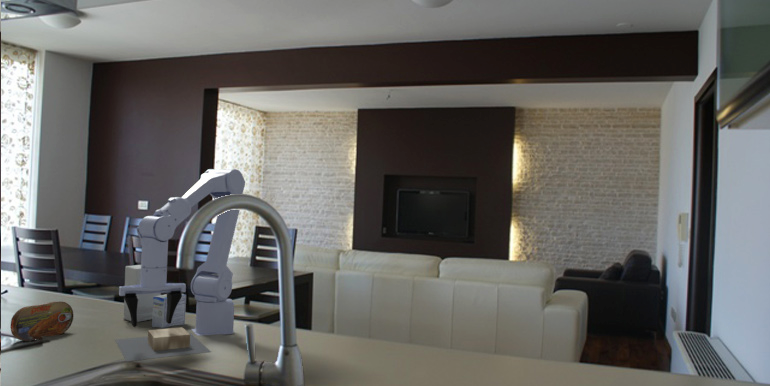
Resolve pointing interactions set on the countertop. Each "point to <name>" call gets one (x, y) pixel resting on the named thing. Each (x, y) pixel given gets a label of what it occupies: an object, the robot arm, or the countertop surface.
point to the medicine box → (161, 312)
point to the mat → (142, 350)
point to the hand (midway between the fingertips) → (151, 324)
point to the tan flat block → (168, 338)
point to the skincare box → (138, 295)
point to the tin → (41, 320)
